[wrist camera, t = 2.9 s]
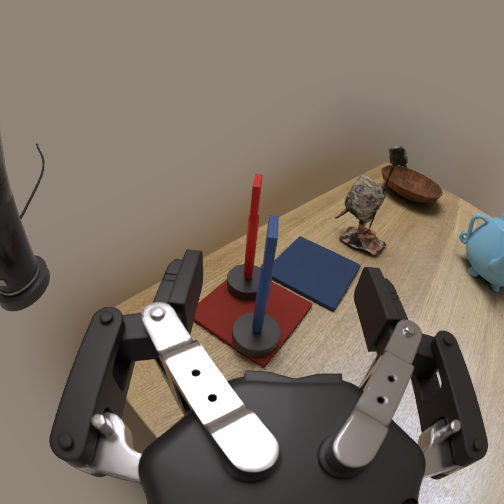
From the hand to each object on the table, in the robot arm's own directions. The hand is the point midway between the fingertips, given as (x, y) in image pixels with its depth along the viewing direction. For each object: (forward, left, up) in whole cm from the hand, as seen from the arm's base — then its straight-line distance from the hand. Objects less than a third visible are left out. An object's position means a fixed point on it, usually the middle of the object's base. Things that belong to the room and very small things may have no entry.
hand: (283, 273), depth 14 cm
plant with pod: (-2, +39, -20) cm, 44 cm away
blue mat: (-5, +25, -20) cm, 32 cm away
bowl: (+4, +75, -20) cm, 77 cm away
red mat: (-8, +12, -20) cm, 25 cm away
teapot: (+29, +51, -20) cm, 62 cm away
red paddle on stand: (-11, +15, -20) cm, 27 cm away
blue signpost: (-5, +8, -20) cm, 22 cm away
